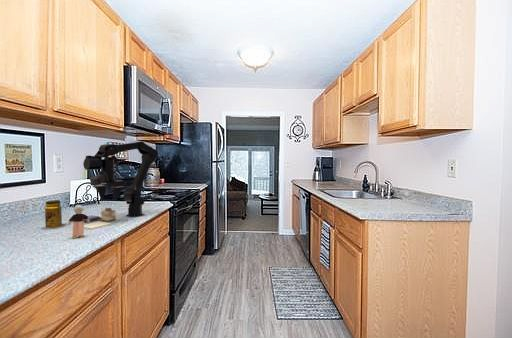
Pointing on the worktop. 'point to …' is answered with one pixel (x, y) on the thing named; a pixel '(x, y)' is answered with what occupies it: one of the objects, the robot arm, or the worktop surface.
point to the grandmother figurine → (78, 222)
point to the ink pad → (92, 218)
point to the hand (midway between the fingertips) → (108, 200)
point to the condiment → (53, 215)
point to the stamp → (108, 215)
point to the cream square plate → (97, 225)
